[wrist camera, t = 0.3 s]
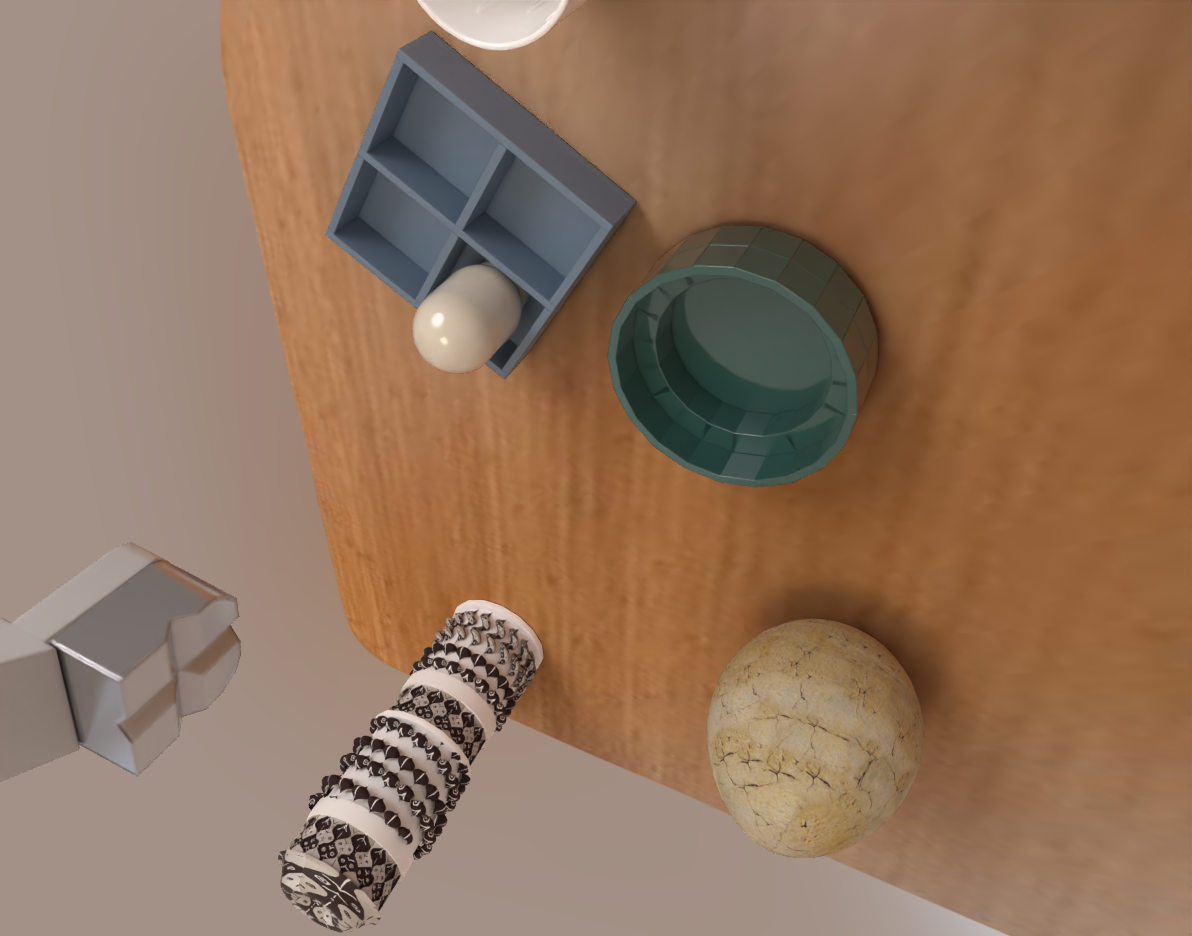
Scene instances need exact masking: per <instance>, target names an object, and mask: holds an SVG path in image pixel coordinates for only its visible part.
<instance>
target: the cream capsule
mask: <svg viewBox="0 0 1192 936" xmlns="http://www.w3.org/2000/svg"><path fill="white" fill-rule="evenodd" d="M528 299H529V293H527V292H526V291H525V290H524V289H523V288H521V287H520V286H519V285H518V284H516V283H515V282H514V281H513V280H512V279H510V278H509V277H508V276H507V275H505V274H504V273H503V272H502V271H501V270H499V269H498V268H497V267H496V266H494V265H493V264H492V263H491V262H489V261H488V260H487V259H486V260H484V261H482V262H481V263H480V264H474V265H469V266H465V267H463V268H461V269H459V270H457V271H456V272H454V273H453V274H452V275H450V276H449V277H448V278H447V279H446V280H445V281H444V282H443V283H441V284H440V285H439V286H438V287H437V288H436V289H435V290H434V291H433V292H431V293H430V294H429V295H428V296H427V297H426V298H425V299H424V300H423V301H422V302H421V304H420V305H419V307H418V308H417V310H416V313H415V315H414V319H413V324H412V334H413V340H414V343H415V346H416V348H417V350H418V352H419V354H420V355H421V356H422V358H423V359H424V360H425V361H426V362H427V363H428V364H430V365H431V366H432V367H434V368H436V369H437V370H440V371H442V372H446V373H450V374H464V373H469V372H472V371H474V370H477V369H478V368H480V367H482V366H483V365H484V364H485V363H486V362H488V361H489V360H490V359H491V358H492V356H493V355H494V354H495V353H496V352H497V351H498V350H499V349H500V348H501V347H502V346H503V345H504V344H505V343H506V342H507V341H508V340H509V338H510V337H511V336H512V335H513V334H514V332H515V331H516V329H517V327H518V326H519V324H520V320H521V317H522V310H523V309H524V307H525V306H526V305H527V302H528Z"/></svg>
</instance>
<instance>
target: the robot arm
mask: <svg viewBox="0 0 1192 936" xmlns="http://www.w3.org/2000/svg"><path fill="white" fill-rule="evenodd" d="M238 617H239V613H238V604H237V598H235V597H234V596H231V595H230V594H228V593H226V592H224V591H222V590H220V589H218V588H216V587H215V586H213V585H211V584H209V583H207V582H205V581H203V580H201V579H200V578H198V577H196V576H194V575H192V574H190V573H188V572H186V571H184V570H183V569H181V568H178V567H176V566H175V565H173V564H171V563H170V562H169V561H167V560H165V559H163V558H161V557H159V556H157V555H156V554H154V553H152V552H150V551H148V550H146V549H144V548H142V547H140V546H138V545H136V544H134V543H132V542H131V543H127V544H124V545H121V546H118V547H116V548H113V549H112V550H111V551H109V552H108V553H107V554H105V555H104V556H102V557H101V558H100V559H98V560H97V561H96V562H94V563H93V564H92V565H90V566H89V567H87V568H86V569H85V570H83V571H82V572H81V573H79V574H78V575H76V576H75V577H74V578H72V579H71V580H70V581H68V582H67V583H66V584H65V585H63V586H62V587H60V588H59V589H57V590H56V591H55V592H53V593H52V594H51V595H49V596H48V597H46V598H45V599H44V600H42V601H41V602H40V603H38V604H37V605H35V606H34V607H33V608H31V609H30V610H29V611H27V612H26V613H25V614H23V615H22V616H21V617H19V618H18V619H16V620H15V621H14V622H12V623H11V622H9V621H7V620H5V619H3V618H0V782H2V781H4V780H6V779H9V778H11V777H14V776H16V775H19V774H21V773H24V772H26V771H28V770H31V769H33V768H36V767H38V766H41V765H43V764H45V763H48V762H50V761H53V760H55V759H57V758H60V757H62V756H65V755H67V754H70V753H72V752H75V751H77V750H79V748H80V747H79V745H81V746H83V747H85V748H86V749H88V750H90V751H92V752H94V753H95V754H97V755H99V756H101V757H103V758H105V759H106V760H108V761H110V762H112V763H114V764H116V765H118V766H119V767H121V768H123V769H125V770H126V771H128V772H130V773H132V774H134V775H136V776H139V775H140V774H141V773H142V772H143V771H144V770H145V769H146V768H147V767H148V766H149V765H150V764H151V763H152V762H153V761H154V760H155V759H156V758H157V757H158V756H159V755H160V754H161V753H162V752H163V751H164V750H165V749H166V748H168V747H169V746H170V745H171V744H172V743H173V742H174V741H175V740H176V739H177V738H178V737H179V734H180V728H181V722H182V717H184V716H187V715H190V714H193V713H196V712H200V711H203V710H206V709H207V708H208V707H209V706H210V705H211V704H212V703H213V702H214V701H215V700H216V699H217V698H218V697H219V696H220V695H221V694H222V693H223V692H224V690H225V688H226V687H227V685H228V683H229V682H230V680H231V679H232V677H233V675H234V674H235V672H236V670H237V667H238V663H239V659H240V656H241V646H240V640H239V638H238V637H237V635H236V633H235V632H234V630H233V628H232V627H231V624H232V623H233V622H234V621H235V620H236V619H237V618H238Z"/></svg>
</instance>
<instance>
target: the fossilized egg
mask: <svg viewBox="0 0 1192 936" xmlns="http://www.w3.org/2000/svg"><path fill="white" fill-rule="evenodd" d="M707 733H708V755H709V759H710V764H711V769H712V773H713V776H714V780H715V783H716V785H717V788H718V790H719V793H720V795H721V798H722V800H723V802H724V804H725V805H726V807H727V809H728V810H729V812H730V814H731V816H732V817H733V819H734V821H735V822H736V823H737V824H738V826H739V827H740V828H741V829H742V830H743V831H744V832H745V833H746V834H747V835H748V836H749V837H750V838H751V839H752V840H753V841H755V842H756V843H757V844H759V845H760V846H762V847H764V848H765V849H767V850H769V851H771V852H774V853H776V854H779V855H783V856H788V857H794V858H815V857H821V856H825V855H828V854H832V853H836V852H839V851H841V850H844V849H846V848H848V847H850V846H852V845H854V844H856V843H858V842H860V841H862V840H863V839H865V838H866V837H868V836H869V835H870V834H872V833H873V832H874V831H876V830H877V829H878V828H880V827H881V826H882V825H883V824H885V823H886V821H887V820H888V819H889V818H890V817H891V816H892V815H893V814H894V813H895V812H896V811H897V809H898V808H899V807H900V805H901V804H902V802H903V800H904V799H905V797H906V795H907V794H908V792H909V790H910V788H911V787H912V785H913V783H914V781H915V778H916V775H917V772H918V768H919V764H920V760H921V756H922V751H923V737H924V735H923V719H922V712H921V708H920V704H919V701H918V698H917V695H916V692H915V690H914V687H913V685H912V682H911V680H910V678H909V677H908V675H907V674H906V672H905V671H904V669H903V668H902V666H901V665H900V663H899V662H898V661H897V659H896V658H895V656H894V655H893V654H892V653H891V652H890V651H889V650H888V649H887V648H886V647H885V646H884V645H882V644H881V643H880V642H878V641H877V640H876V639H874V638H873V637H871V636H870V635H868V634H866V633H865V632H863V631H861V630H859V629H857V628H855V627H852V626H850V625H847V624H844V623H840V622H836V621H831V620H823V619H801V620H795V621H791V622H787V623H783V624H781V625H778V626H775V627H773V628H770V629H768V630H765V631H764V632H762V633H761V634H759V635H758V636H757V637H755V638H754V639H752V640H751V641H750V642H749V643H747V644H746V645H745V646H743V647H742V648H741V649H740V650H739V651H738V652H737V654H736V655H735V656H734V657H733V659H732V660H731V661H730V663H729V664H728V665H727V667H726V668H725V670H724V671H723V673H722V674H721V676H720V679H719V681H718V683H717V686H716V688H715V691H714V694H713V697H712V700H711V704H710V709H709V715H708V722H707Z"/></svg>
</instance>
